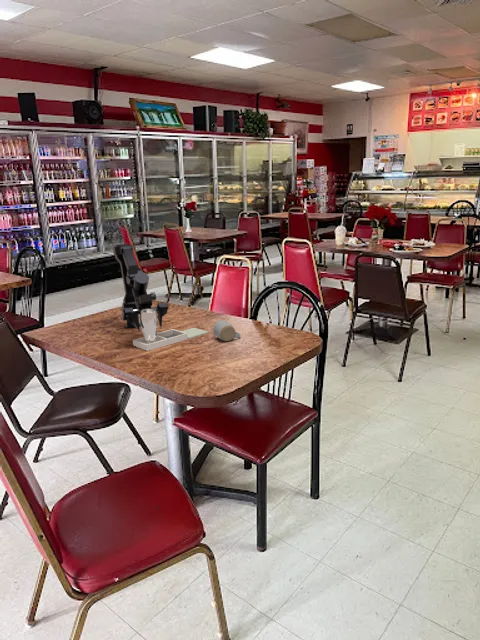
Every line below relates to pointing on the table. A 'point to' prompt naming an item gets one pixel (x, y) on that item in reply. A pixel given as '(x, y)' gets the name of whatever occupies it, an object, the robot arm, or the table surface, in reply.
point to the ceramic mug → (225, 331)
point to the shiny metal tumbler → (149, 325)
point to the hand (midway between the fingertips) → (150, 328)
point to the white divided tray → (168, 338)
